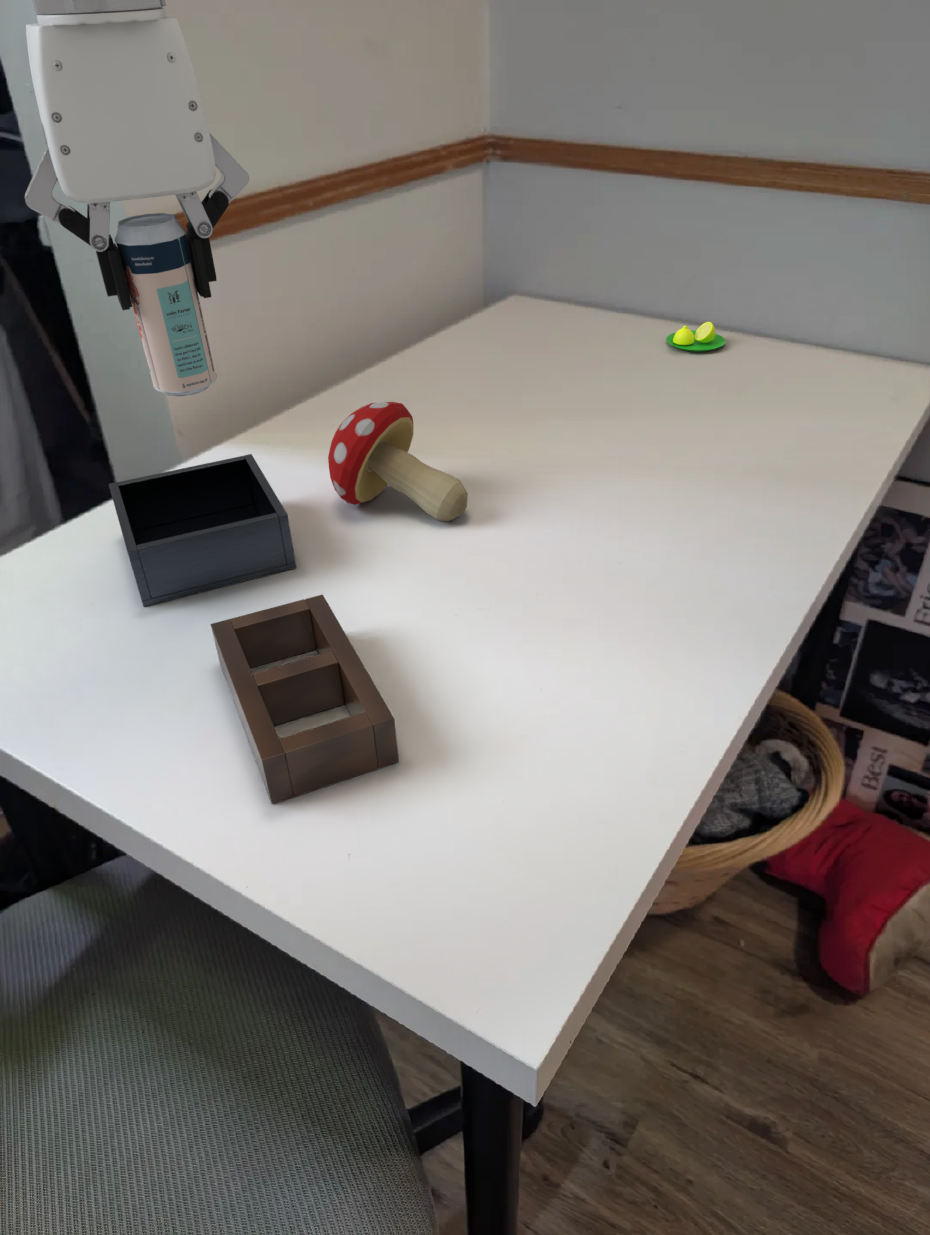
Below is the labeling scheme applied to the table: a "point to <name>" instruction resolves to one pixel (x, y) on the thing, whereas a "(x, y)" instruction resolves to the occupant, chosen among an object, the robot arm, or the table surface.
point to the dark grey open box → (202, 528)
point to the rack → (303, 697)
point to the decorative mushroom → (389, 462)
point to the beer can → (166, 303)
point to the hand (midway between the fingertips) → (164, 296)
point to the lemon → (696, 338)
